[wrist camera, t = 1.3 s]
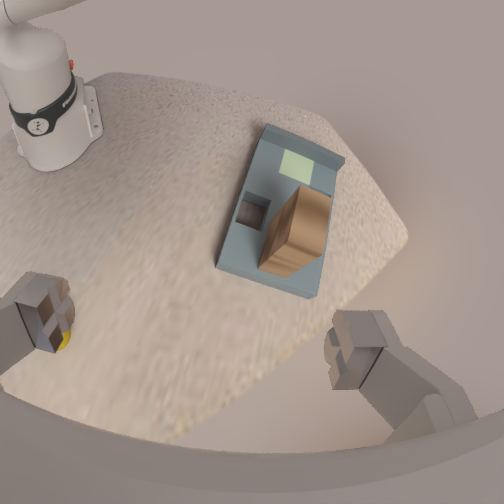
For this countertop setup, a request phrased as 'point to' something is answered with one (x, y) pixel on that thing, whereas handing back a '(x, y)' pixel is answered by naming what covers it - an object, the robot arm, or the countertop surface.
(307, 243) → the block
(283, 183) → the deck
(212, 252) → the countertop surface
